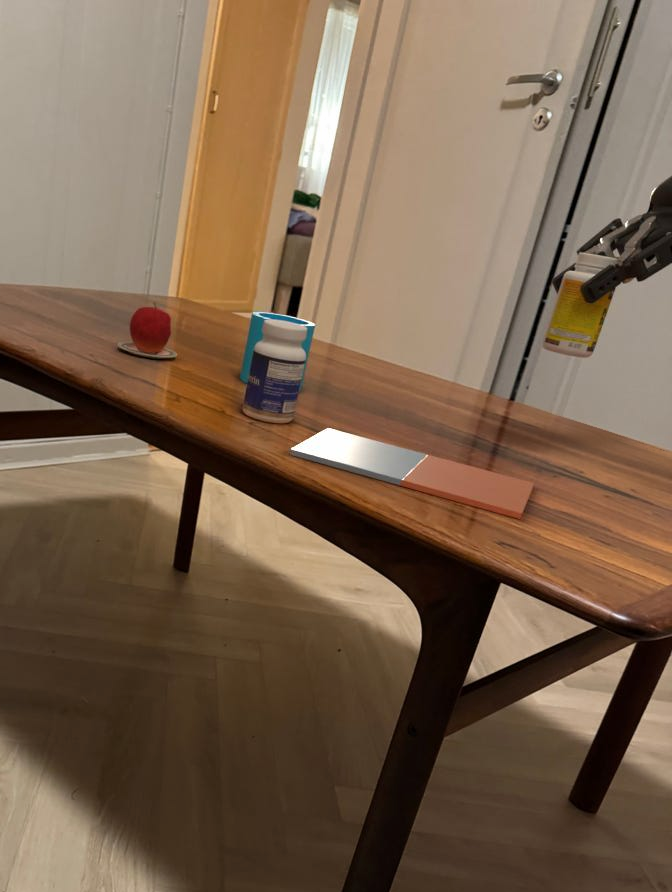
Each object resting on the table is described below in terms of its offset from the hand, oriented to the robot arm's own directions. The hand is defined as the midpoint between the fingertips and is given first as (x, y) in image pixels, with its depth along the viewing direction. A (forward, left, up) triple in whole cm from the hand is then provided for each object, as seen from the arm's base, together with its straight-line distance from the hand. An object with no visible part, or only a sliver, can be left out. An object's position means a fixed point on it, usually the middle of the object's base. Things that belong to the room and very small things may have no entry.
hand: (570, 292), depth 98 cm
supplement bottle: (-2, -1, -6) cm, 7 cm away
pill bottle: (+26, +16, -18) cm, 35 cm away
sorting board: (+8, +23, -18) cm, 30 cm away
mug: (+32, -5, -18) cm, 37 cm away
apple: (+50, -2, -18) cm, 53 cm away
